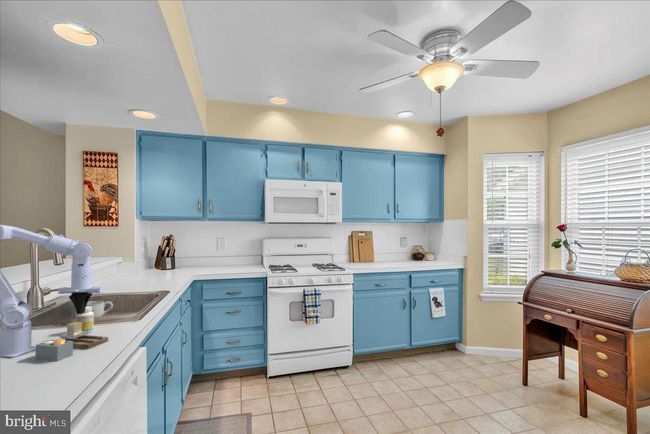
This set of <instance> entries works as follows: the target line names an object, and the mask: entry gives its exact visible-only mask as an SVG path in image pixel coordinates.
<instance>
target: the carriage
mask: <svg viewBox="0 0 650 434" xmlns="http://www.w3.org/2000/svg"><path fill="white" fill-rule="evenodd" d="M66 325H67V327H66V332H65V333H63V334H59V339H62V338H66V339H76V338H79V337H81V336H84V335H90V334H89V333H90V332H89V331H82V322H77V321H74V322H71V323H70V322H69V323H67V324H66Z"/></svg>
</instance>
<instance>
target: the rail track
mask: <svg viewBox="0 0 650 434" xmlns="http://www.w3.org/2000/svg"><path fill="white" fill-rule="evenodd" d="M61 339H65V340H66V341H73V349H82V350H89V349H92V348H94V347H95V348H96V347H97V346H99V345H102V344H105V343H107V342H109V336H104V335H103V336H102V335H101V336H100V335H90V334H87V335H84V336H81V337H79V338H76V339H66V338H61Z"/></svg>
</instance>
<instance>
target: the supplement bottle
mask: <svg viewBox="0 0 650 434" xmlns="http://www.w3.org/2000/svg"><path fill="white" fill-rule="evenodd" d="M91 310H92V307H91V306H87V307H86V308H85V312H84V313H82V314H78V315H77V319H76V322H82V331H89V333H91V332H93V331H94V324H95V323H94V313H93V312H91Z"/></svg>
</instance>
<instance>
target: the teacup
mask: <svg viewBox="0 0 650 434" xmlns="http://www.w3.org/2000/svg"><path fill="white" fill-rule="evenodd" d="M106 305H109V307H108V308H107V309H105V307H106ZM87 306H91V307H92V310H91V312H93V313H94V321H97V320H99V319H101V317H103V316H105V315H106V314H107V313H108V312H110V311H111V310H112V309H113V307H114V304H113V302H112V301H104V300H93V301H92V300H91V301H90V300H89V301H88V303H87V305H86V307H87ZM77 315H78V314H77V313H76V309H75V308H74V317H75V318H76V320H77Z"/></svg>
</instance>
